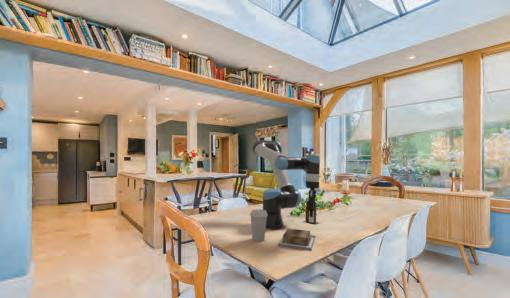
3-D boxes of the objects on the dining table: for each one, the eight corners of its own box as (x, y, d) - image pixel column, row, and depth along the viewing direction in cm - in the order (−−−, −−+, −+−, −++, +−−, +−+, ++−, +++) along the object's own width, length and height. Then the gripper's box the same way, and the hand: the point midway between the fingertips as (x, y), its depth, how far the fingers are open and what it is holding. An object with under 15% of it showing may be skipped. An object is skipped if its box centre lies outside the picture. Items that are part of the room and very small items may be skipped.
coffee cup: (246, 237, 127) (247, 209, 128) (262, 235, 131) (263, 208, 131) (253, 243, 118) (253, 213, 119) (270, 241, 122) (270, 212, 123)
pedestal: (283, 242, 117) (283, 234, 117) (287, 235, 129) (287, 228, 129) (307, 246, 113) (307, 237, 114) (310, 238, 125) (310, 230, 125)
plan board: (278, 245, 116) (278, 243, 116) (284, 236, 131) (284, 233, 131) (311, 250, 111) (311, 247, 111) (314, 239, 126) (314, 237, 126)
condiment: (309, 220, 142) (310, 200, 142) (321, 223, 135) (322, 202, 136) (301, 221, 137) (302, 201, 137) (314, 225, 131) (314, 203, 131)
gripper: (318, 183, 127) (317, 226, 126) (320, 179, 145) (319, 217, 145) (304, 182, 130) (303, 224, 129) (307, 179, 148) (307, 216, 147)
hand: (311, 220), depth 137 cm, fingers closed on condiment, 6 cm apart
